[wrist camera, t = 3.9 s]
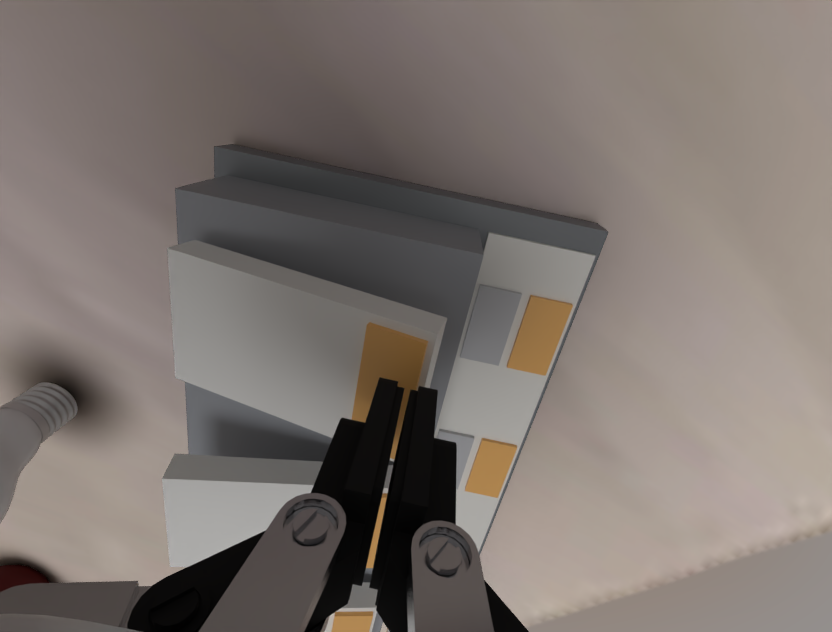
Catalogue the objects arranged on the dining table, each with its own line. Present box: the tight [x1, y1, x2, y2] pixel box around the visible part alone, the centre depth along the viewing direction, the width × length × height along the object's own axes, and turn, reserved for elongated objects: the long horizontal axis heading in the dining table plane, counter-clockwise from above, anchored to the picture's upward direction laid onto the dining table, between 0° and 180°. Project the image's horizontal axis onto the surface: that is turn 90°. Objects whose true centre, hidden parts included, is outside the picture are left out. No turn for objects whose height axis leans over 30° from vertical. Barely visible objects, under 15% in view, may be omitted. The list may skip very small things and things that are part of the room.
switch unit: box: [175, 144, 608, 632], centre depth 22 cm, size 26×16×5 cm, turn 169°
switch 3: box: [324, 582, 377, 632], centre depth 21 cm, size 5×9×1 cm, turn 79°
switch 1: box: [167, 240, 447, 462], centre depth 14 cm, size 5×9×1 cm, turn 79°
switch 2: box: [162, 454, 393, 568], centre depth 18 cm, size 5×9×1 cm, turn 79°
